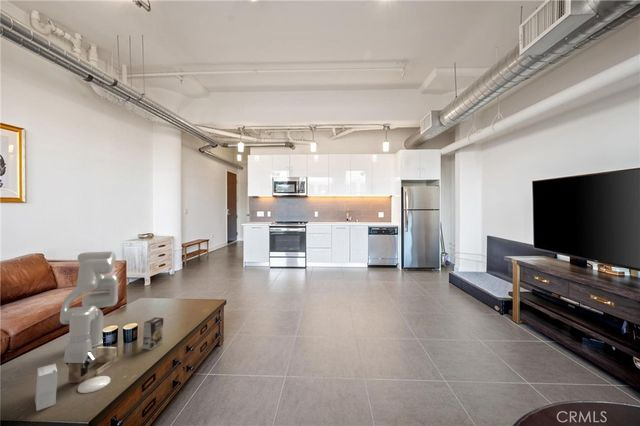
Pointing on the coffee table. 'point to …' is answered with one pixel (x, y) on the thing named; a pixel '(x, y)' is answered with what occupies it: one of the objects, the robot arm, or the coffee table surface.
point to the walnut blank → (75, 372)
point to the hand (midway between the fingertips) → (78, 374)
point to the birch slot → (104, 358)
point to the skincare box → (46, 386)
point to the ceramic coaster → (94, 384)
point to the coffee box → (153, 333)
